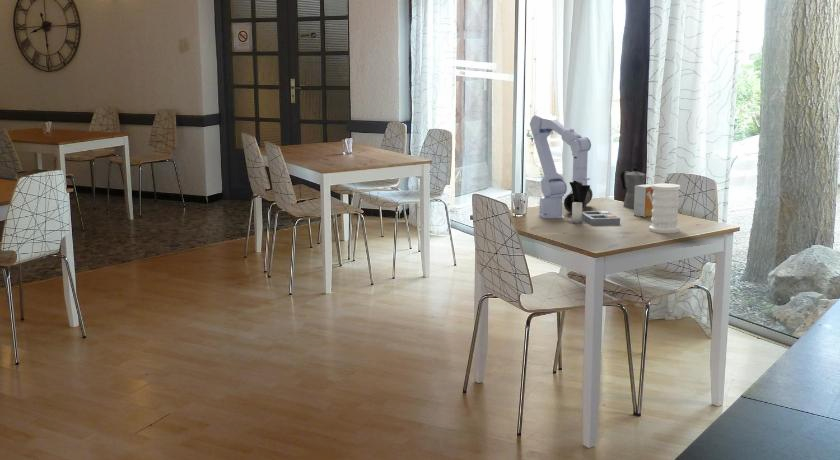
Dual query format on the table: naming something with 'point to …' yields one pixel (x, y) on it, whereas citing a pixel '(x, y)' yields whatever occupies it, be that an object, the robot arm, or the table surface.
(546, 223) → the table surface
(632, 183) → the coffeepot
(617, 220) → the socket board
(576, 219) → the plug
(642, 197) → the small box
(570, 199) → the muzzle brake
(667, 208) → the decorative container
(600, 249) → the table surface
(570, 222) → the plug mat
